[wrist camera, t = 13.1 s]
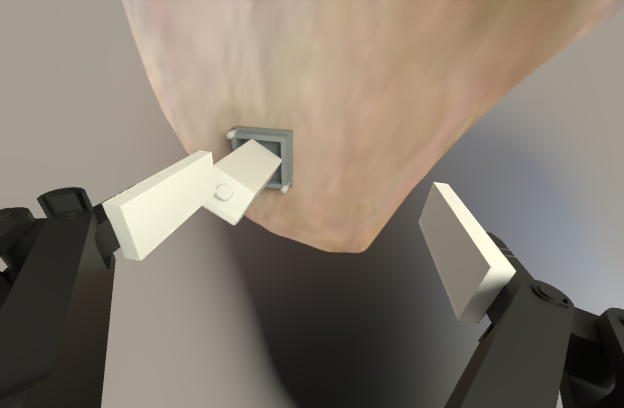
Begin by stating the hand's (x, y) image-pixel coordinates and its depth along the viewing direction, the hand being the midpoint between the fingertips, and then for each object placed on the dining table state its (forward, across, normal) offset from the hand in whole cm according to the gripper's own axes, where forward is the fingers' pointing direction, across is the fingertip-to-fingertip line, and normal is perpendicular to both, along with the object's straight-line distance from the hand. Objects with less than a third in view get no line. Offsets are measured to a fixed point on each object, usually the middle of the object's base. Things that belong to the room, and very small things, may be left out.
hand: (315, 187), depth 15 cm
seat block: (+35, -15, -12) cm, 40 cm away
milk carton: (+31, -15, -12) cm, 37 cm away
